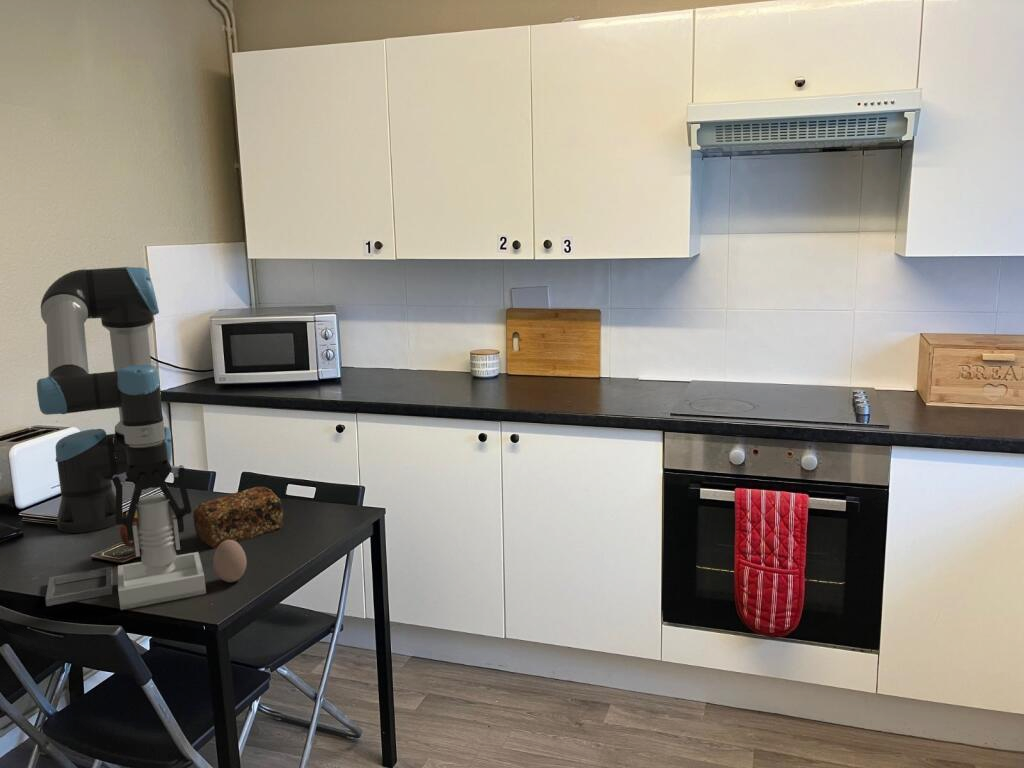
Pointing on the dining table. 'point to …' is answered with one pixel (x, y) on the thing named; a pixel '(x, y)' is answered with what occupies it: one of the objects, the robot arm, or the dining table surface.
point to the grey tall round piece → (156, 534)
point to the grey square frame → (81, 594)
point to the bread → (238, 516)
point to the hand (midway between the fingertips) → (158, 550)
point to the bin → (160, 582)
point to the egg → (229, 561)
